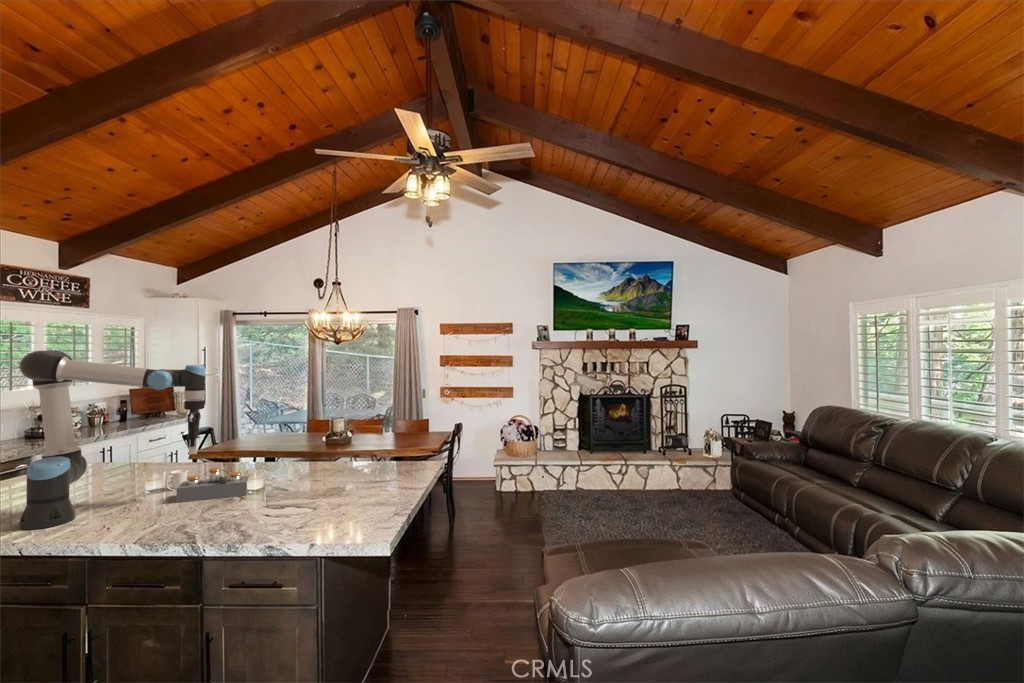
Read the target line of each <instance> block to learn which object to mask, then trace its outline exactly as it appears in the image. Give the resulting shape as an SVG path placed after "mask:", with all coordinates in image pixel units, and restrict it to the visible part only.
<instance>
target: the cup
mask: <svg viewBox="0 0 1024 683" xmlns="http://www.w3.org/2000/svg"><path fill="white" fill-rule="evenodd" d="M188 471H189V470H188V469H177V470H172V471H170V472H169V476H168V477H167V478H166V480H165V484H164V486H165V487H166V488H167V489H168V490H170V491H177V488H178V487H179V486H180V485H181V483H182V482H183V481H187V478H188V473H189V472H188ZM169 479H170V483H171V486H172V488H170V487H169V485H168V482H169Z"/></svg>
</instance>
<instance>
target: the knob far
mask: <svg viewBox="0 0 1024 683" xmlns="http://www.w3.org/2000/svg"><path fill="white" fill-rule="evenodd" d="M240 476H242V472H241V471H237V472H230V473H229V477H230V482H232V481H240Z"/></svg>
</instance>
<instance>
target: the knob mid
mask: <svg viewBox="0 0 1024 683" xmlns="http://www.w3.org/2000/svg"><path fill="white" fill-rule="evenodd" d="M221 471H222V468H221V467H213V468H209V469H208V472H209V479H210V482H209V484H210V483H220V476H221Z"/></svg>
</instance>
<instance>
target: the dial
mask: <svg viewBox="0 0 1024 683" xmlns="http://www.w3.org/2000/svg"><path fill="white" fill-rule="evenodd" d="M227 478H228V475H220V484H226V483H227Z"/></svg>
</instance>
